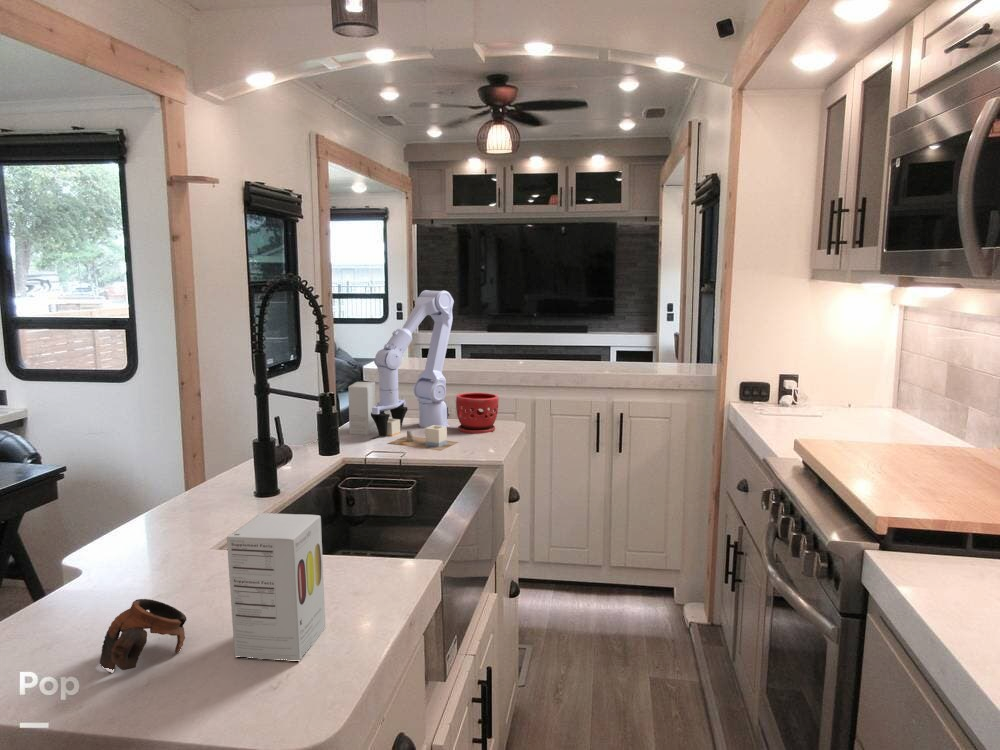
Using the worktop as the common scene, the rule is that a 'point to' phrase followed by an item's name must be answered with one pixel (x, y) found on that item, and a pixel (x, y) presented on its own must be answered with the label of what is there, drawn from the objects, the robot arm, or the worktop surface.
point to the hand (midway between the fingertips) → (390, 433)
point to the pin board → (418, 442)
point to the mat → (375, 437)
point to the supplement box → (276, 585)
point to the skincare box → (361, 407)
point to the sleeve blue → (436, 435)
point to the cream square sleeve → (393, 427)
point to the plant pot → (476, 412)
